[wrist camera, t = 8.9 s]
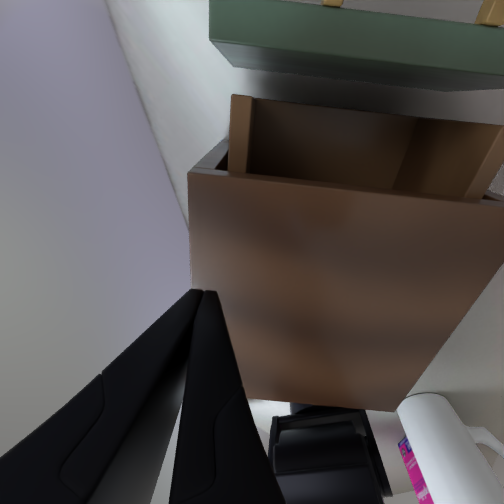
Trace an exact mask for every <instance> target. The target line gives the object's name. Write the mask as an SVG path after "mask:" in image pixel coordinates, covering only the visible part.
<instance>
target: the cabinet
mask: <svg viewBox="0 0 504 504" xmlns="http://www.w3.org/2000/svg"><path fill="white" fill-rule="evenodd" d="M228 150H229V141H226V140H222V141H221V142H219V143H218V144H217V145H216V146H215V147H214V148H213V149H212V150H211V151H210V152H209V153H208V154H206V155H205V156H204V157H203V158H202V159H201V160H200V161H199V162H198V163H197V164H196V165H195V166H194V167H193V168H192V169H191V170H190V171H189V172H188V173H187V180H188V211H189V243H190V274H191V289H202V290H203V291H205V290H213V291H217V292H218V295H219V299H220V302H221V306H222V310H223V313H224V317H225V321H226V324H227V328H228V332H229V335H230V339H231V343H232V346H233V350H234V354H235V357H236V361H237V364H238V368H239V372H240V375H241V379H242V383H243V387H244V389H245V393H246V397H247V398H250V399H261V400H271V401H281V402H292V403H302V404H313V405H323V406H333V407H344V408H354V409H364V410H375V411H385V412H395V411H396V409H397V408H398V407H399V405H400V404H401V402H402V401H403V400H404V398H405V397H406V396H407V394H408V393H409V391H410V390H411V389H412V387H413V386H414V385H415V383H416V382H417V380H418V379H419V378H420V376H421V375H422V374H423V372H424V371H425V369H426V368H427V367H428V365H429V364H430V363H431V361H432V360H433V359H434V357H435V356H436V354H437V353H438V352H439V350H440V349H441V348H442V346H443V345H444V343H445V342H446V341H447V339H448V338H449V337H450V335H451V334H452V332H453V331H454V330H455V328H456V327H457V326H458V324H459V323H460V322H461V320H462V319H463V317H464V316H465V315H466V313H467V312H468V311H469V309H470V308H471V306H472V305H473V304H474V302H475V301H476V300H477V298H478V297H479V295H480V294H481V293H482V291H483V290H484V289H485V287H486V286H487V285H488V283H489V282H490V280H491V279H492V278H493V276H494V275H495V274H496V272H497V271H498V269H499V268H500V267H501V265H502V264H503V263H504V196H501V195H499V194H496V193H494V192H491V191H489V190H487V191H486V193H485V194H484V196H483V198H482V199H475V198H466V197H456V196H447V195H438V194H429V193H420V192H411V191H402V190H393V189H384V188H375V187H366V186H357V185H348V184H339V183H330V182H321V181H312V180H303V179H294V178H285V177H276V176H267V175H258V174H249V173H240V172H231V171H228Z"/></svg>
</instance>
